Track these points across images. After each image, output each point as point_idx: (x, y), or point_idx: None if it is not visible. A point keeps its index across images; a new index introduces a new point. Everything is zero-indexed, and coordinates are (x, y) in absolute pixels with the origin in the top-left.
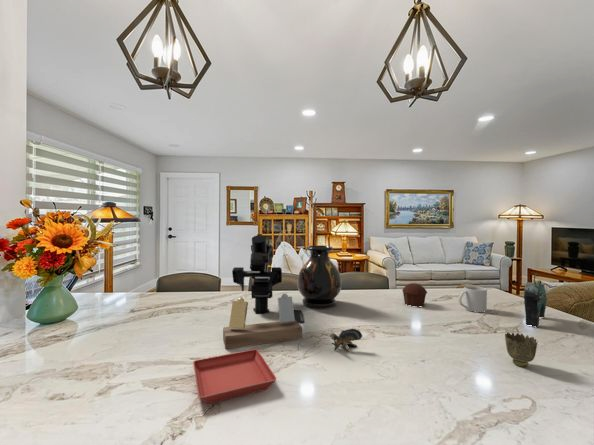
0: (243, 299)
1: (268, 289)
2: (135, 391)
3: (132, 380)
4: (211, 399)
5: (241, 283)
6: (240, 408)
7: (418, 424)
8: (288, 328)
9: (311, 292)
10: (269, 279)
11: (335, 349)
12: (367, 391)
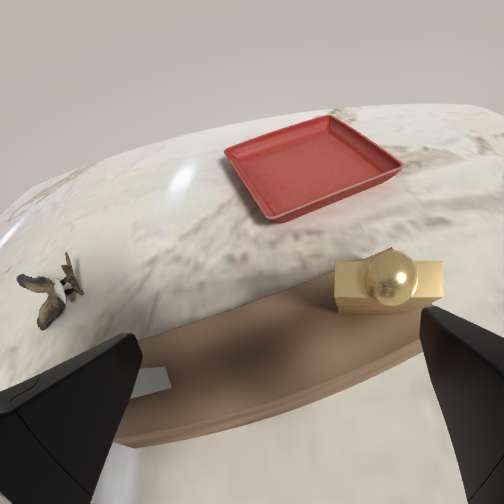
0: (369, 271)
1: (127, 338)
2: (445, 142)
3: (475, 158)
4: (318, 127)
5: (486, 335)
6: None
7: (104, 166)
8: (149, 338)
9: None
10: (35, 392)
11: (80, 290)
12: (110, 192)
